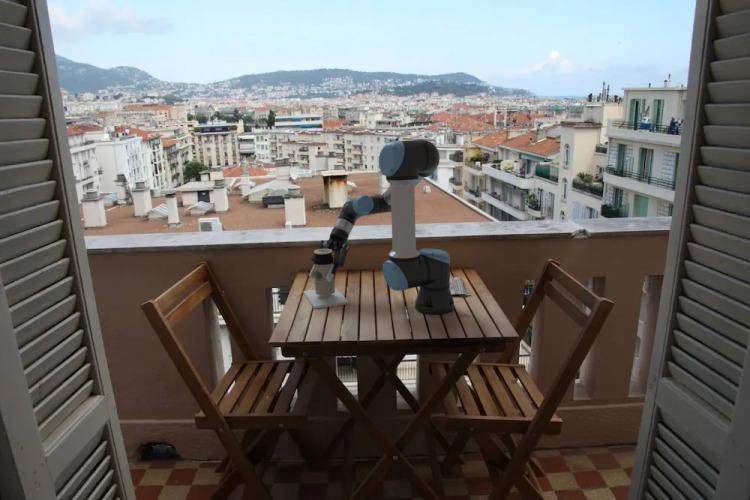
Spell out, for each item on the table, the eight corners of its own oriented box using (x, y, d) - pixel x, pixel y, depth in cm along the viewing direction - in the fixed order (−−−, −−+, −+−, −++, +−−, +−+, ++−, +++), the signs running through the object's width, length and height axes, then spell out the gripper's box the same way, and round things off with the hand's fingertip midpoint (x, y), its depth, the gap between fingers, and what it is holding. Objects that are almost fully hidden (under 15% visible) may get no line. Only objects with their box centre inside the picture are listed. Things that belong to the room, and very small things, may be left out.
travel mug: (327, 288, 234) (325, 247, 230) (338, 293, 228) (336, 250, 224) (311, 292, 229) (309, 250, 225) (322, 297, 223) (320, 254, 219)
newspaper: (471, 298, 228) (471, 292, 227) (441, 301, 229) (441, 295, 228) (466, 280, 250) (465, 275, 249) (439, 283, 251) (438, 278, 250)
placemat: (348, 304, 222) (348, 301, 222) (314, 308, 218) (314, 306, 218) (335, 289, 241) (335, 287, 240) (303, 293, 236) (303, 291, 236)
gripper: (365, 239, 231) (344, 287, 222) (325, 234, 241) (304, 279, 232) (357, 229, 225) (335, 277, 216) (317, 224, 236) (295, 270, 227)
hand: (319, 278), depth 224 cm, fingers closed on travel mug, 8 cm apart
